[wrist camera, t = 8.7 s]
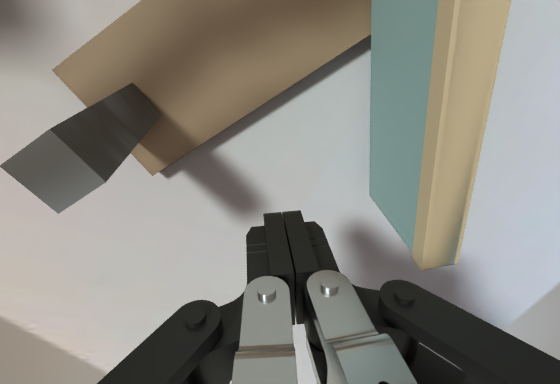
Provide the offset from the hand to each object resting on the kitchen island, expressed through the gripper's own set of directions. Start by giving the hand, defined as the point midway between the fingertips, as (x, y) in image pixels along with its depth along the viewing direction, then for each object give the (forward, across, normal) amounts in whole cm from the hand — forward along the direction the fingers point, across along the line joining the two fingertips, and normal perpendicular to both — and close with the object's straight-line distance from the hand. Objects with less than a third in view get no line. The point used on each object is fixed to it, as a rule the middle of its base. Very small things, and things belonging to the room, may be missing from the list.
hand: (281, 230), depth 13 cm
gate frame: (+10, +1, -7) cm, 13 cm away
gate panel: (+9, -8, -3) cm, 12 cm away
